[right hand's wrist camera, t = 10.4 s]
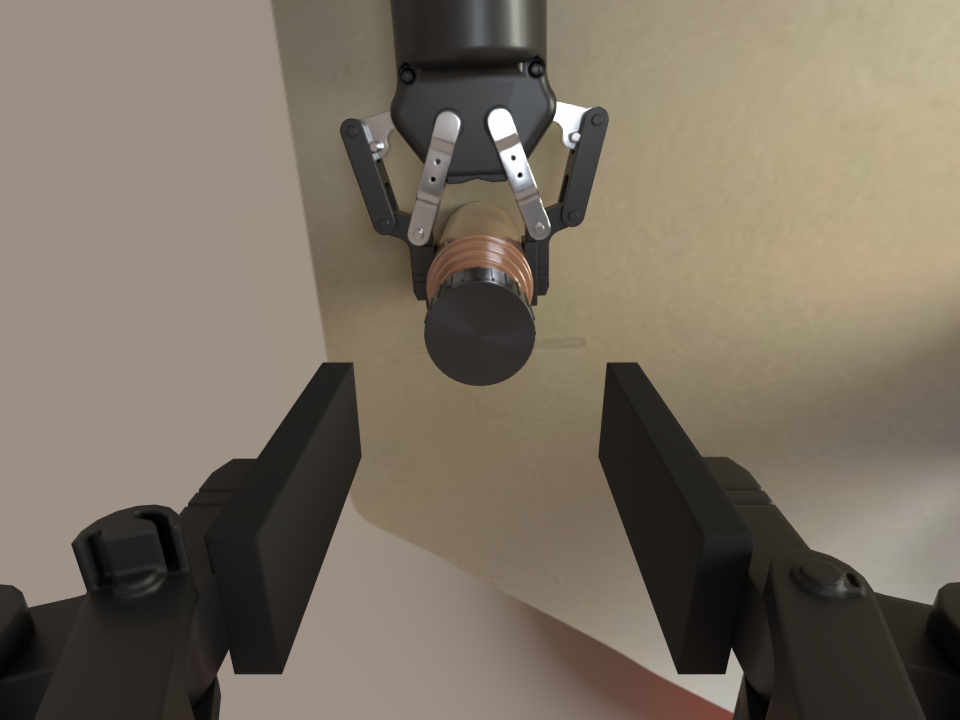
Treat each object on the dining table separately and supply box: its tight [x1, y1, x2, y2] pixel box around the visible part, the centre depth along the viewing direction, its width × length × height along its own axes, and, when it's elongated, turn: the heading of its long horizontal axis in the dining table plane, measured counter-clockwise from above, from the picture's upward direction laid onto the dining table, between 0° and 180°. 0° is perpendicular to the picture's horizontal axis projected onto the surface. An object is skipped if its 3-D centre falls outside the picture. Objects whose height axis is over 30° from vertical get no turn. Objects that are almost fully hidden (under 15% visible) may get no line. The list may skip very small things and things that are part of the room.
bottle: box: [427, 202, 533, 304], centre depth 29 cm, size 5×5×19 cm
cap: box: [424, 266, 536, 386], centre depth 21 cm, size 4×4×2 cm
